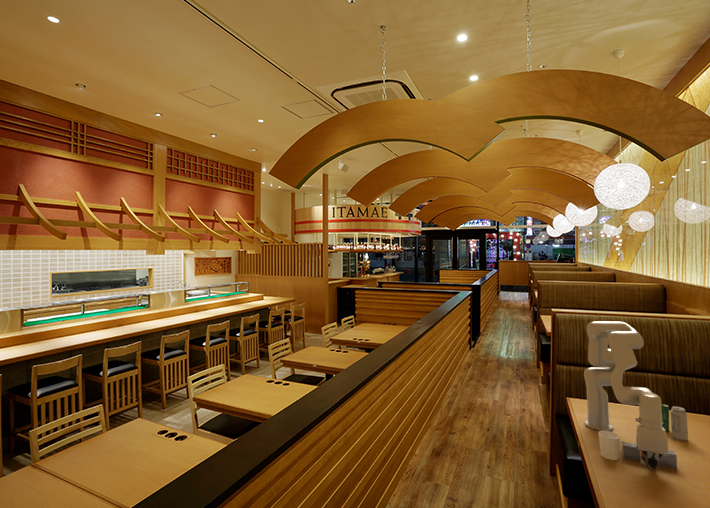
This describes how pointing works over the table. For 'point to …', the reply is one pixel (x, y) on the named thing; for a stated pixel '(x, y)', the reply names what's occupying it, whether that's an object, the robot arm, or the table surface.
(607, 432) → the white cup
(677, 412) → the energy drink can
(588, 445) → the table surface
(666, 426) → the coffee box
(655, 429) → the robot arm
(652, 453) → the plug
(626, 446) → the grey long block
